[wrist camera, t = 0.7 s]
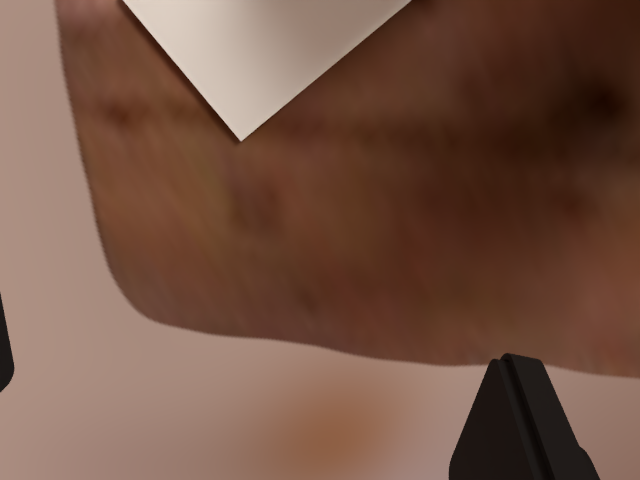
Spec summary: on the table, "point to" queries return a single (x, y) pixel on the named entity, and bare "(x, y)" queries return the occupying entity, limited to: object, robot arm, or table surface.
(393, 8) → the rest mat
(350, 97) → the table surface
